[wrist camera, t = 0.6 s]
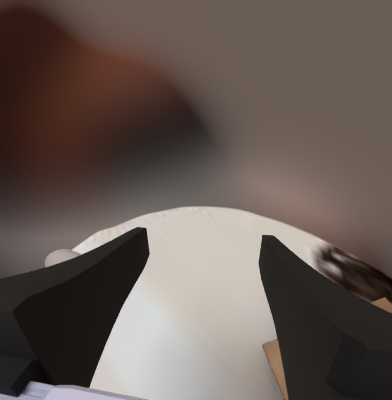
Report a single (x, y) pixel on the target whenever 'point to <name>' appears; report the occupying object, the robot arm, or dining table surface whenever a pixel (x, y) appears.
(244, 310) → the dining table surface
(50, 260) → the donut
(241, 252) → the dining table surface
